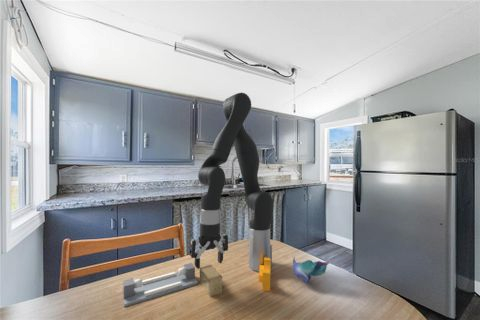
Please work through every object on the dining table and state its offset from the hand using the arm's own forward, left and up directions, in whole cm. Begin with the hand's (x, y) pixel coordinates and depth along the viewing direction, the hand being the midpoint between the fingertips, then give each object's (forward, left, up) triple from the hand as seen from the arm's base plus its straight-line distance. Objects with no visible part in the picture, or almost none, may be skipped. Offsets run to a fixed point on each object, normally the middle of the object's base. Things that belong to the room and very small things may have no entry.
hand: (209, 265), depth 76 cm
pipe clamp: (-20, +7, -8) cm, 23 cm away
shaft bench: (+15, -9, -8) cm, 19 cm away
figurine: (-34, +17, -8) cm, 38 cm away
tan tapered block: (0, 0, -8) cm, 8 cm away
